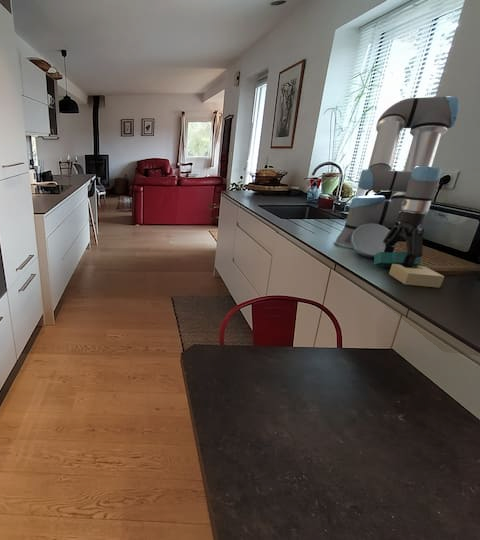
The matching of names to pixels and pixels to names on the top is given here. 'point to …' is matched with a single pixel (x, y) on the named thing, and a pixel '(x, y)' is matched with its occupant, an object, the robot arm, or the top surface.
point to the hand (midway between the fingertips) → (394, 267)
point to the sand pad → (416, 276)
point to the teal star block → (392, 259)
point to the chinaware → (369, 239)
